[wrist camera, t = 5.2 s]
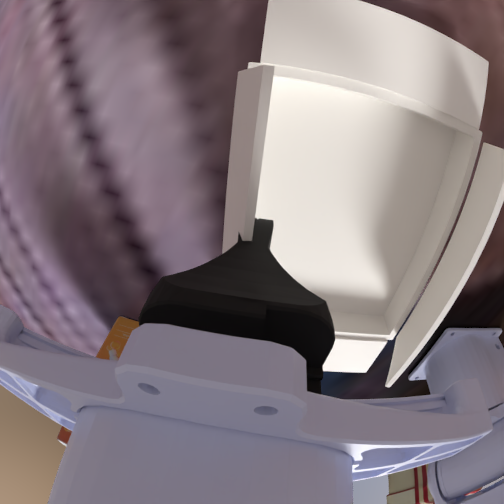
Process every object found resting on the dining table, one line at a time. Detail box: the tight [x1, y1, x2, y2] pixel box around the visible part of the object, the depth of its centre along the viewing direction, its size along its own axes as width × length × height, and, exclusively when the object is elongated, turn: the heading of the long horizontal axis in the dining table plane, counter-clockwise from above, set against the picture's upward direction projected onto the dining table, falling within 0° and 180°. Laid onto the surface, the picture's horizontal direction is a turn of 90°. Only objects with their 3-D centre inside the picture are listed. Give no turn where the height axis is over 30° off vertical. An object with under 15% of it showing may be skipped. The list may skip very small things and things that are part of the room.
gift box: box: [387, 463, 482, 504], centre depth 25 cm, size 17×18×17 cm
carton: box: [248, 0, 489, 373], centre depth 14 cm, size 12×23×2 cm, turn 174°
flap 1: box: [222, 65, 275, 254], centre depth 12 cm, size 4×14×1 cm
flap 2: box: [385, 142, 504, 388], centre depth 11 cm, size 4×14×1 cm
